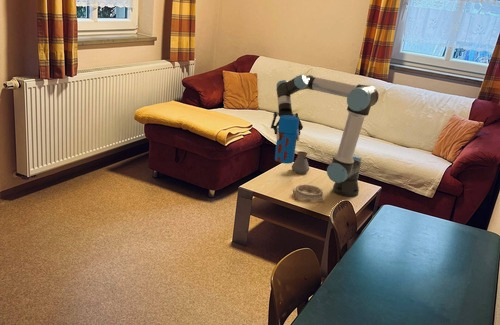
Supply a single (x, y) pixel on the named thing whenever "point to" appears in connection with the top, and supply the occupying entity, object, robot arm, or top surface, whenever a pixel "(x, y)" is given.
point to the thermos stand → (308, 193)
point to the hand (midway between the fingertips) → (288, 139)
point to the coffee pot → (301, 163)
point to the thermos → (286, 139)
